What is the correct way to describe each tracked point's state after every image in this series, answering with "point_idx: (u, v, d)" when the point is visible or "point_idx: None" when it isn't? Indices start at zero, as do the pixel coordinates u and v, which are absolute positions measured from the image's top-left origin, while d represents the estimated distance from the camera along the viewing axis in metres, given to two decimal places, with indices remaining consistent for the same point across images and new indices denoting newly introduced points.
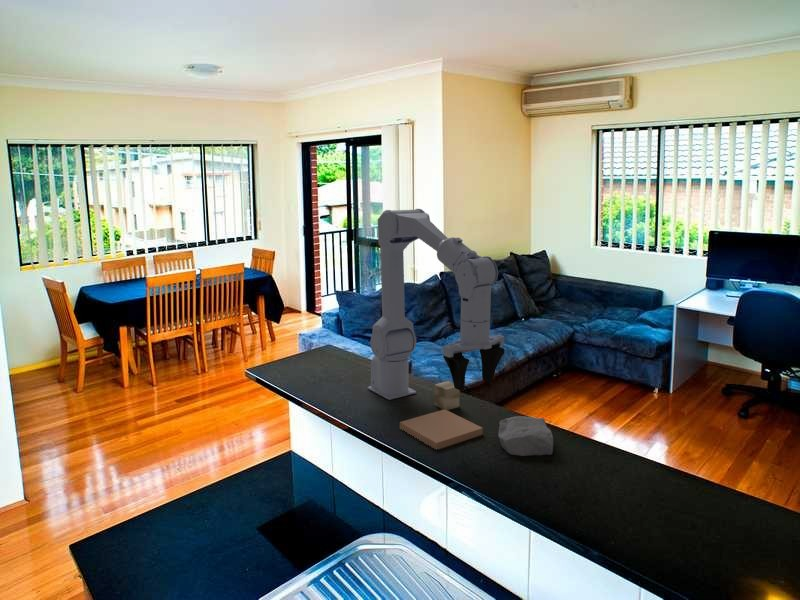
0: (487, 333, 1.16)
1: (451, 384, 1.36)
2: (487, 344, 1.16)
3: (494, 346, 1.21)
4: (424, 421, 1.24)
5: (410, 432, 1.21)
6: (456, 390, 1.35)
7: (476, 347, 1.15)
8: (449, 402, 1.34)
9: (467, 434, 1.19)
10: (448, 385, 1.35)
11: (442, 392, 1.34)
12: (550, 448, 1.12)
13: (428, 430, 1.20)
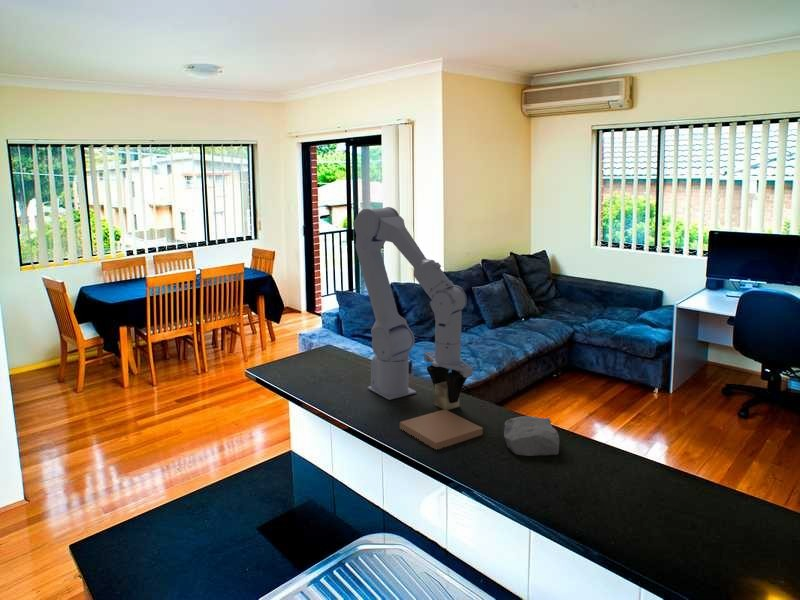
0: (440, 354, 1.32)
1: None
2: (436, 363, 1.32)
3: (458, 373, 1.30)
4: (424, 421, 1.24)
5: (410, 432, 1.21)
6: None
7: (433, 361, 1.34)
8: None
9: (467, 434, 1.19)
10: None
11: (442, 392, 1.34)
12: (556, 448, 1.12)
13: (428, 430, 1.20)
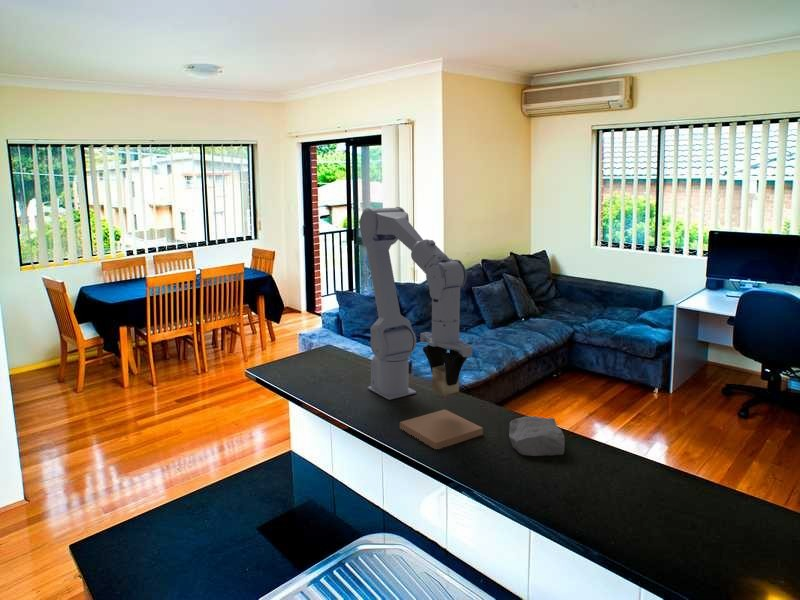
0: (437, 333, 1.23)
1: None
2: (433, 342, 1.23)
3: (457, 353, 1.22)
4: (424, 421, 1.24)
5: (410, 432, 1.21)
6: None
7: None
8: (448, 386, 1.25)
9: (467, 434, 1.19)
10: None
11: (440, 376, 1.25)
12: (562, 448, 1.12)
13: (428, 429, 1.20)
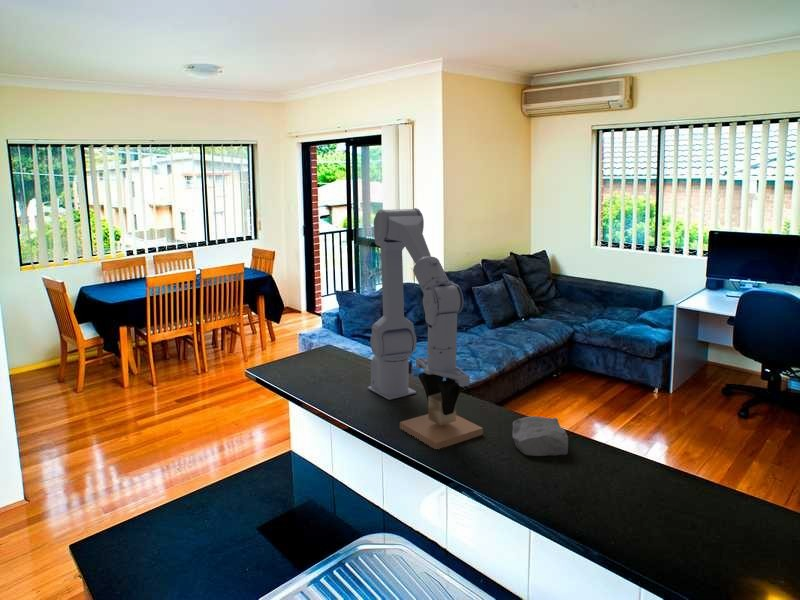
0: (433, 360, 1.17)
1: None
2: (429, 370, 1.18)
3: (453, 382, 1.16)
4: (425, 421, 1.24)
5: (410, 432, 1.21)
6: None
7: None
8: (445, 415, 1.20)
9: (467, 434, 1.19)
10: None
11: (437, 405, 1.20)
12: (565, 448, 1.12)
13: (428, 429, 1.20)
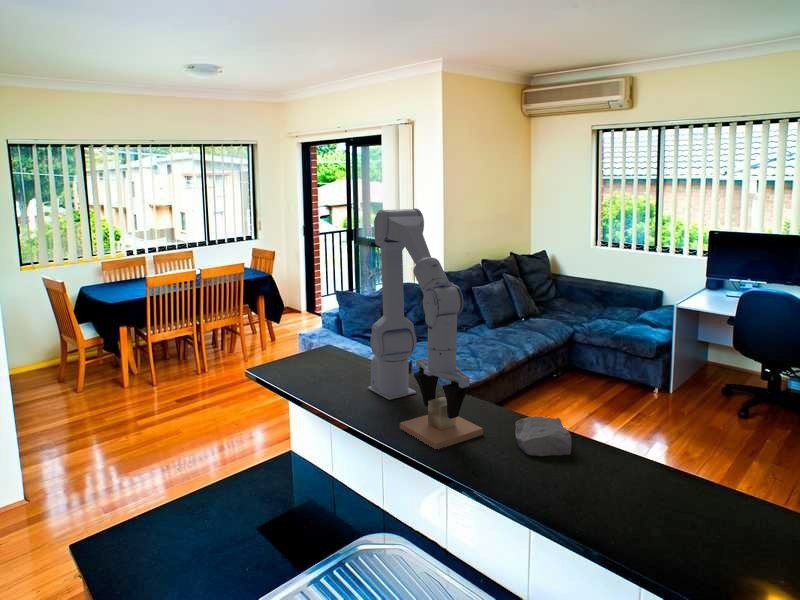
0: (433, 361, 1.17)
1: (446, 401, 1.22)
2: (429, 371, 1.18)
3: (453, 383, 1.16)
4: (424, 422, 1.24)
5: (410, 433, 1.21)
6: None
7: (425, 369, 1.20)
8: (444, 420, 1.20)
9: (467, 434, 1.19)
10: (444, 402, 1.21)
11: (437, 410, 1.20)
12: (568, 448, 1.12)
13: (428, 430, 1.20)
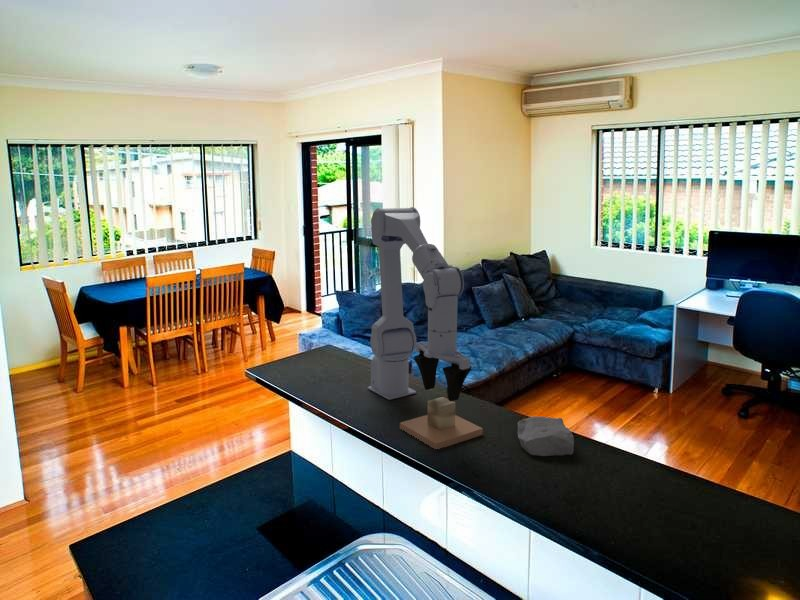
0: (434, 343, 1.17)
1: (445, 401, 1.22)
2: (429, 353, 1.17)
3: (454, 365, 1.15)
4: (424, 422, 1.24)
5: (410, 432, 1.21)
6: (451, 407, 1.21)
7: (425, 352, 1.19)
8: (444, 420, 1.20)
9: (467, 434, 1.19)
10: (443, 402, 1.21)
11: (436, 410, 1.20)
12: (571, 448, 1.12)
13: (428, 430, 1.20)
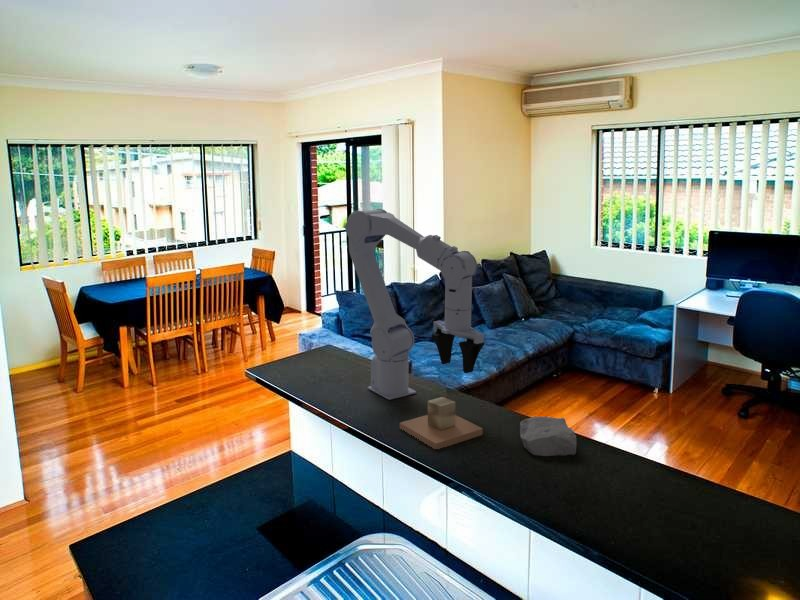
0: (450, 321, 1.29)
1: (445, 400, 1.22)
2: (446, 329, 1.29)
3: (469, 340, 1.28)
4: (424, 422, 1.24)
5: (410, 433, 1.21)
6: (451, 407, 1.21)
7: (443, 329, 1.32)
8: (444, 420, 1.20)
9: (467, 434, 1.19)
10: (443, 401, 1.21)
11: (436, 410, 1.20)
12: (574, 448, 1.12)
13: (428, 430, 1.20)
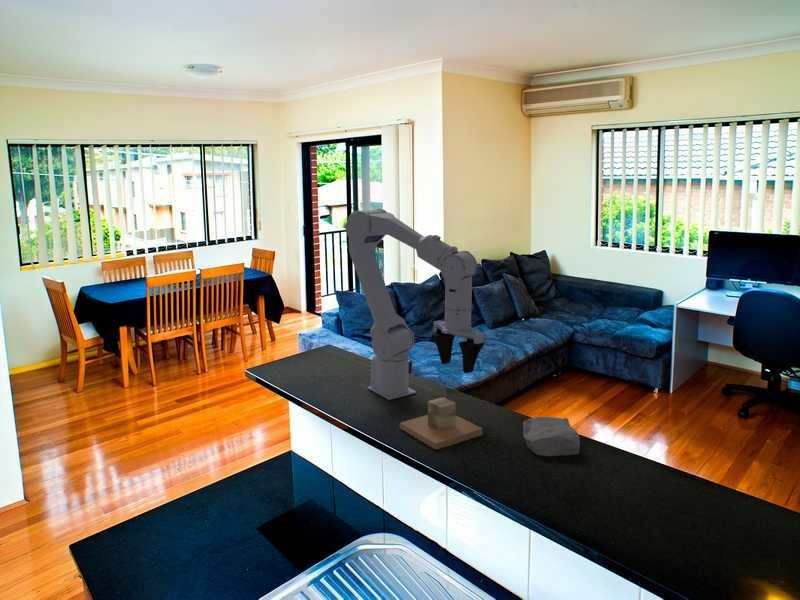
0: (450, 321, 1.29)
1: (446, 401, 1.22)
2: (446, 329, 1.29)
3: (469, 340, 1.28)
4: (424, 422, 1.24)
5: (410, 433, 1.21)
6: (452, 408, 1.21)
7: (443, 329, 1.32)
8: (444, 421, 1.20)
9: (467, 434, 1.19)
10: (443, 402, 1.21)
11: (436, 411, 1.20)
12: (577, 448, 1.12)
13: (428, 430, 1.20)
